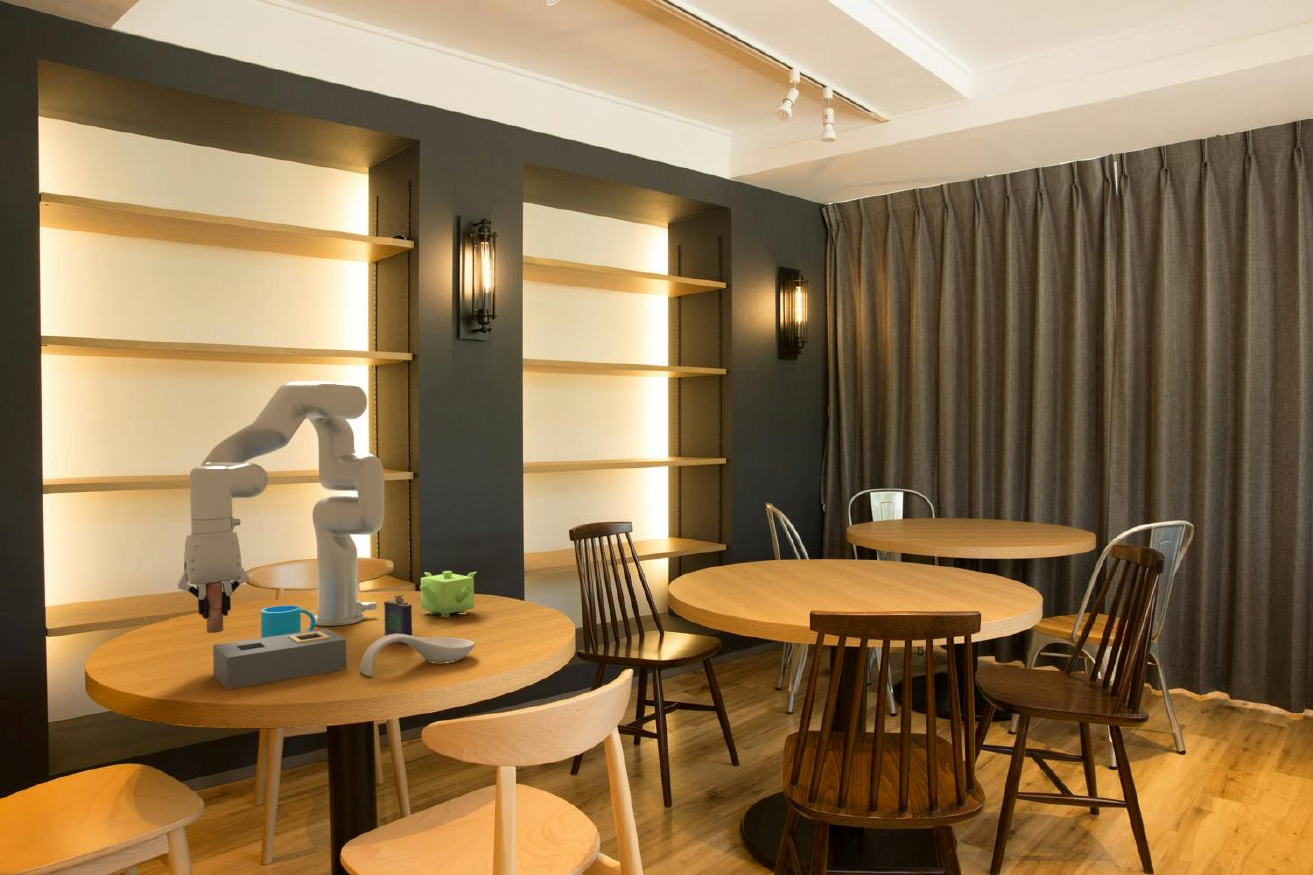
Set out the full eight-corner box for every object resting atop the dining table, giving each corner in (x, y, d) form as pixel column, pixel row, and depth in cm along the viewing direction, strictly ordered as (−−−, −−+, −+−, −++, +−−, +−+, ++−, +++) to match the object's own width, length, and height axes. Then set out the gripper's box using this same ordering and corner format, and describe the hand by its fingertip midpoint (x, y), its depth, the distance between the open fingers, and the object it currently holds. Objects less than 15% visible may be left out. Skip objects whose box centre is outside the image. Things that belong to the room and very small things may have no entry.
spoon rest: (456, 650, 188) (456, 617, 188) (484, 660, 179) (484, 626, 179) (351, 670, 172) (351, 635, 172) (377, 683, 163) (377, 646, 163)
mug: (270, 651, 186) (270, 614, 186) (255, 645, 192) (254, 609, 192) (323, 641, 195) (323, 606, 195) (307, 636, 200) (307, 601, 200)
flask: (382, 639, 197) (382, 593, 197) (393, 637, 199) (393, 591, 199) (405, 646, 191) (405, 598, 191) (416, 643, 193) (416, 596, 193)
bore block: (327, 656, 182) (327, 627, 182) (346, 668, 172) (346, 637, 172) (213, 675, 168) (213, 643, 168) (227, 689, 159) (227, 655, 159)
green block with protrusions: (424, 608, 231) (424, 567, 231) (477, 607, 233) (477, 566, 233) (414, 620, 216) (414, 576, 216) (471, 619, 218) (471, 575, 218)
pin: (221, 628, 176) (220, 580, 176) (224, 631, 174) (223, 582, 173) (205, 630, 174) (204, 582, 174) (208, 633, 172) (207, 584, 172)
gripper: (250, 521, 181) (253, 606, 182) (163, 528, 171) (165, 619, 172) (259, 524, 175) (262, 613, 176) (169, 532, 165) (172, 626, 166)
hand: (214, 615), depth 174 cm, fingers closed on pin, 3 cm apart
